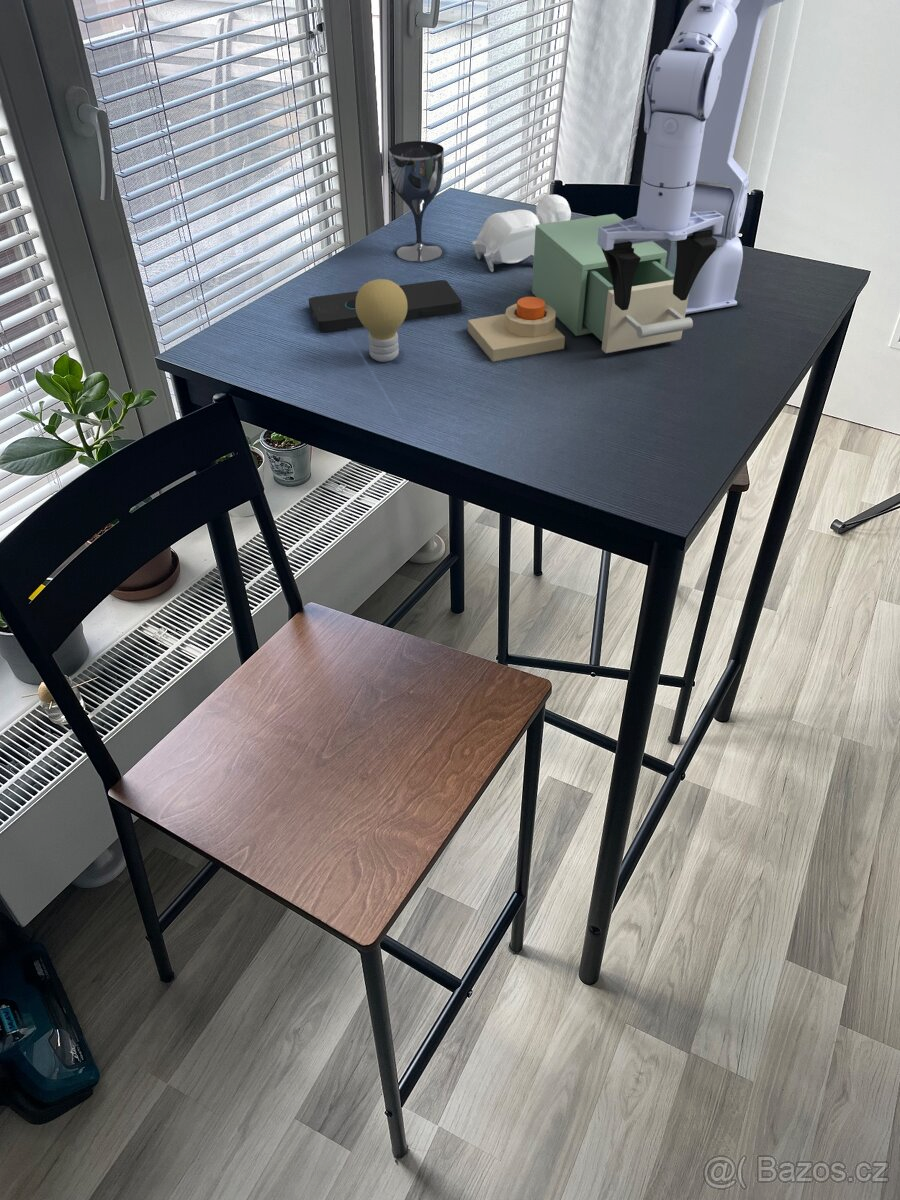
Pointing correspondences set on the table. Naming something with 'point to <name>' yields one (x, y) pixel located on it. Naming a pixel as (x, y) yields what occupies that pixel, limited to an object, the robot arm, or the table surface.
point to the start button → (530, 308)
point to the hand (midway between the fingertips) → (650, 301)
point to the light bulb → (382, 316)
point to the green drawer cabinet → (574, 264)
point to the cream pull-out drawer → (635, 309)
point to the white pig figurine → (517, 231)
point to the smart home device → (420, 300)
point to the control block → (516, 334)
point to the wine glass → (417, 188)
